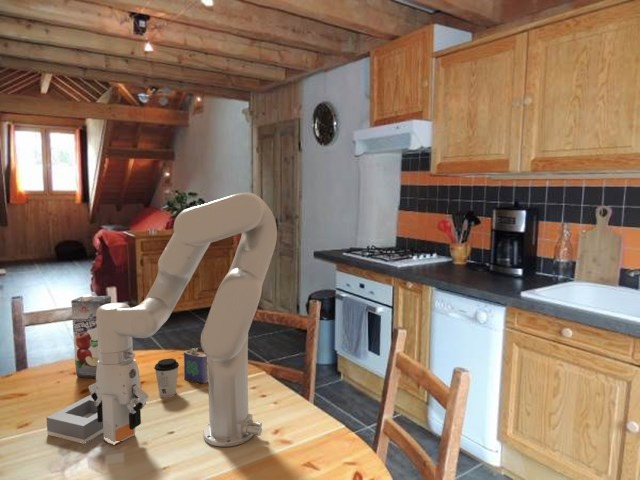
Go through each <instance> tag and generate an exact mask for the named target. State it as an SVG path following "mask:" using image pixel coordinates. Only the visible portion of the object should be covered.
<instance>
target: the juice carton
mask: <svg viewBox="0 0 640 480" xmlns="http://www.w3.org/2000/svg"><path fill="white" fill-rule="evenodd" d="M70 302H71V303H70V304H71V316H72V317H71V318H72V333H73V334H72V335H73V348H74V349H73V351H74V364H75V365H74V366H75V371H76V372H75V373H76V376H77V378H85V379H86V378H89V379H96V370H97V363H98V361H99V356H98V338H97V320H96V312H97V309H98V308H99V307H100V306H102V305H105V304H109V303H112V296H111V295H100V296H98V295H97V296H96V295H93V294H91V293H90V294H89V293H87V294H83V295H82V296H80V297H78V298H74V299H72V300H70Z"/></svg>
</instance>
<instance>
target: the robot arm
mask: <svg viewBox="0 0 640 480" xmlns="http://www.w3.org/2000/svg"><path fill="white" fill-rule="evenodd" d="M277 227H278V226H277V223H276V218H275V216H274V214H273V211H272V210H271V209H270V207H269V205H268V204H267V203H266V202H265V201H264V200H263V199H262V198H261V197H260V196H258V195H257V194H255V193H253V192H248V191H247V192H246V191H245V192H238V193H235V194H232V195H229V196H226V197H223V198H220V199H216V200H213V201H209V202H208V203H204V204H201V205H197V206H192V207H188V208H186V209H183V210H182V211H181V212H179V214H177V216H176V217H175V219H174V224H173V234H172V236H171V238H170V239H169V241H168V242H167V244H166V246H165V248H164V250H163V252H162V254H161V255H160V256H159V258H158V261H157V267H158V272H157V275H156V278H155V280H154V282H153V284H152V285H151V288H150V289H149V291H148V293H147V294H146V297H145V298H144V300H143V301H142V302H141V303H139V304H138V305H136V306H133V307H130V305H129V304H127V303H125V302H111V303H109V304H105V305H102V306H100V307H99V308H98V309H97V312H96V320H97V338H98V356H99V361H98V363H97V370H96V378H95V382H94V383H91V384H90V385H89V386H88V388H87V389H88V390H89V392H90V395H91V394H92V395H91V397H92V398H93V400H94V401H95V403H94V404H95V406H97V417H98V422H102V421H103V410H102V394H107V395H112V396H116V399H117V403H118V404H122V405H126V406H127V407H128V409H129V410H130V412H131V413H129V428H130V429H131V430H133V429H134V428H135V429H136V428H137V427H139V426H140V425H141V424H142V417H141V416H142V415H141V413H142V412H141V410H142V409H143V407H145V405H146V403H147V401H148V399H149V394H148V393H147V392H146V391H144V390H143V389H142V387H141V386H142V384H141V376H140V371H139V367H138V363H137V360H136V359H135V357H136V354H135V353H134V351H133V338H136V339H147V338H151V337H152V336H154V335H156V333H157V332H158V331H159V330H160V329H161V327H162V326H163V325H164V324H165V323H166V322H167V321H168V319H169V318H170V316H171V314H172V313H173V311H174V309H175V307H176V306H177V303H178V302H179V300H180V299H181V296H182V295H183V292H184V291H185V289H186V287H187V285H188V284H189V282H190V281H191V279H192V277H193V275H194V273H195V272H196V269H197V268H198V266H199V264H200V262H201V260H202V259H203V257H204V255H205V253H206V251H208V248H209V247H210V245H211V243H214V242H218V241H220V240H223V239H228V238H230V237H233V236H236V235H239V234H241V237H240V239H239V243H238V245H237V248H236V251H235V255H234V257H233V260H232V263H231V265H230V267H229V270H228V272H227V274H226V275H225V276H224V278H223V279H222V281H221V282H220V284H219V286H218V288H217V291H216V293H215V295H214V299H213V301H212V304H211V307H210V309H209V312H208V315H207V317H206V321H205V324H204V326H203V329H202V331H201V334H200V346H201V350H202V352H203V354H206V356H207V372H208V382H207V384H208V413H209V415H208V416H209V417H208V419H209V424H208V423H207V425H206V426H205V427H204V429H203V433H202V435H203V437H202V438H203V439H204V441H205V442H206V443H208V444H209V445H212V446H214V447H224V448H226V447H228V448H229V447H235V446H238V445H242V444H244V443H246V442H248V441H249V440H250V439H252V438H253V437H254V436H259V437H260V436H261V435H262V433H263V432H262V431H263V429H262V426H263V424H262V422H258V421H254V420H253V414H252V413H249V373H248V372H249V369H248V368H249V367H248V366H249V364H248V363H249V362H248V361H249V360H248V359H249V357H248V356H249V355H248V353H249V351H248V348H249V331H250V328H251V326H252V323H253V321H254V317H255V314H256V313H257V309H258V306H259V303H260V300H261V296H262V291H263V284H264V281H265V279H266V276H267V273H268V271H269V267H270V263H271V261H272V259H273V256H274V255H273V254H274V251H275V248H276V245H277V237H278V229H277ZM131 398H132V399H131ZM130 399H131V400H130ZM133 401H134V406H133V405H132V402H133Z"/></svg>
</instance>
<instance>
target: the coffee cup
mask: <svg viewBox="0 0 640 480" xmlns="http://www.w3.org/2000/svg"><path fill="white" fill-rule="evenodd" d="M179 366H180V363H178V361H177V360H176V359H175V358H163V359H160V360H159V361H158V362H157V363H156V364H155V365H154V367H153V368H154V371H155V376H156V381H157V387H158V394H159V397H160V398H171V397H173V396H175V395H176V394H177V384H178V373H179Z"/></svg>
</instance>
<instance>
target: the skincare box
mask: <svg viewBox="0 0 640 480" xmlns="http://www.w3.org/2000/svg"><path fill="white" fill-rule="evenodd" d="M131 399H132V398H131ZM131 399H130V400H131ZM132 405H133V406H134V407H135V404H134V401H133V402H132ZM102 410H103V433H102V434H103V438H104V437H105V438H108V439H110V440H111V441H113V442H115V441H121V440H122V442H123V441H126V440H128V439H130V438H132V437H134V436H136V428H134V429H133V430H131V429H130V428H129V413H131V412H130V410H129V409H128V407H127V406H126V405H122V404H118V403H117V399H116V396H112V395H107V394H102Z"/></svg>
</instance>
